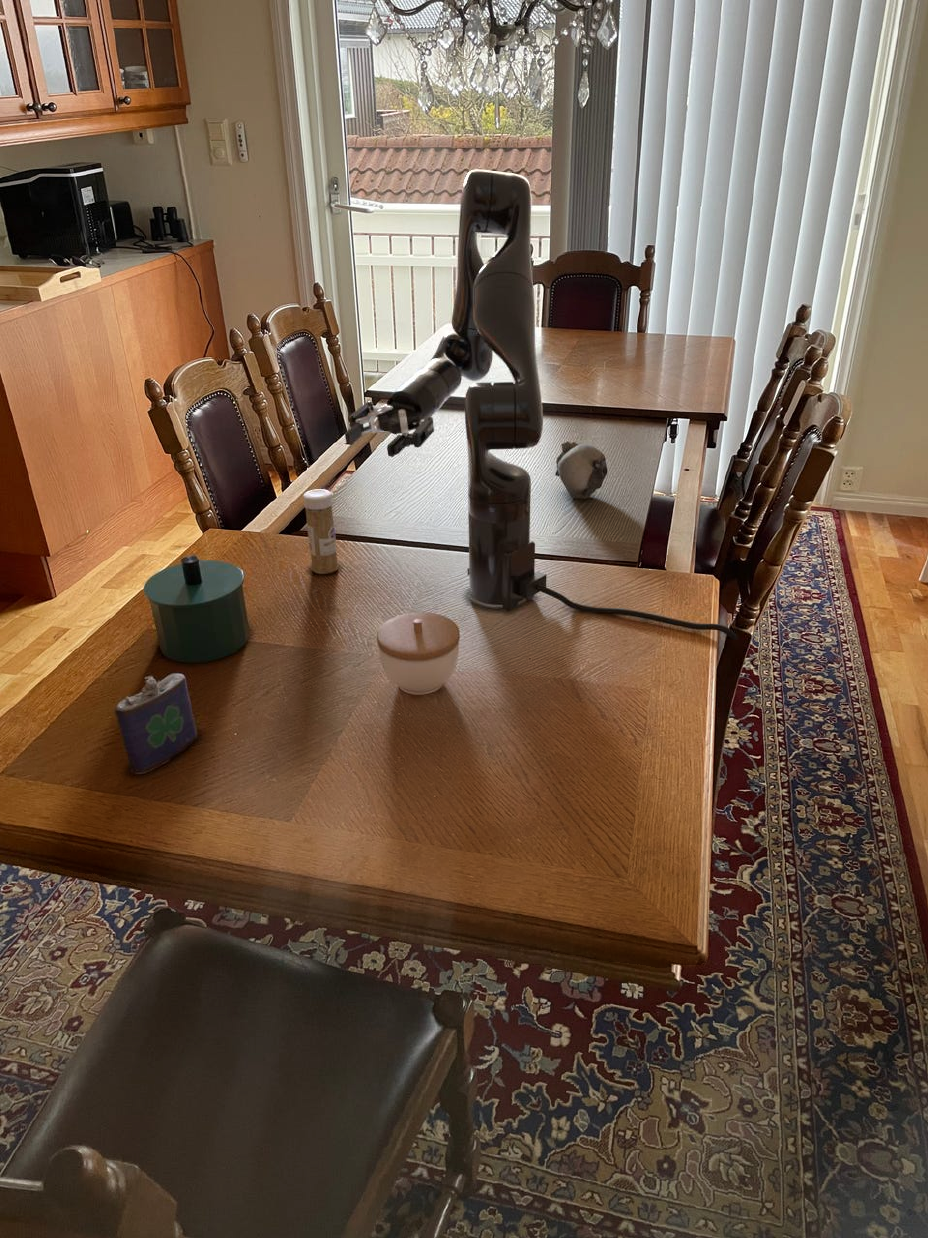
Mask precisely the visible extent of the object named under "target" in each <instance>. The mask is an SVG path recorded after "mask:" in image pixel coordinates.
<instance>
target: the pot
mask: <svg viewBox="0 0 928 1238" xmlns="http://www.w3.org/2000/svg"><path fill="white" fill-rule="evenodd" d="M149 605H150V609H151V614H152V618H153V622H154V627H155V631H156V636H157V640H158V643H159V644H158V645H159V649H160V651H161V653H162V654H163V655H164V656H165V657H166V658H168V659H170V660H171V661H174V662H179V663H189V664H197V663H198V664H199V663H200V664H201V663H208V662H212V661H217V660H220V659H222V658H226V657H228V656H230V655H233V654H234V653H236V652H238V651H239V650H240V649H242V648H243V647H244V645H246V643H247V642H248V640H249V639H250V638H249V637H250V632H251V631H250V624H249V618H248V614H247V606H246V600H245V594H244V588H243V585H242V586H241V588H240V589H239V590H238V591H236V592H235V593H234V594H232V595H231V596H229V597H227V598H225V599H223V600H221V601H218V602H215V603H212V604H209V605H204V606H199V607H193V608H168V607H162V606H159V605H156V604H153V603H152V602H150V601H149Z"/></svg>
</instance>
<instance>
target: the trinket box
mask: <svg viewBox="0 0 928 1238" xmlns="http://www.w3.org/2000/svg"><path fill="white" fill-rule="evenodd" d="M460 633H461V632H460V628H459V626H458V624H457V623H456V622H455V621H453V620H452V619H450V617H447V616H444V615H442V614H439V613H433V612H423V611H419V612H408V613H403V614H400V615H396V616H394V617H392V618H389V619H388V620H386V621H385V622H384V623H382V624H381V626H380V627H379V628H378V630H377V632H376V643H377V647H378V655H379V660H380V664H381V666H382V669H383V671H384V673H385V675H386V677H388V679H389V680H390V682H392V683H393V684H394V685H396V686H397V687H398V688H399V689H400V690H401V691H402V692H404V693H407V694H409V695H415V696H423V695H430V694H432V693H435V692H437V691H439V690H440V689H441V688H442V686H443V685H445V683H447V682H448V680H450V679H451V677H452V675H453V674H454V672H455V670H456V667H457V663H458V661H459V654H460V640H461V639H460V638H461V635H460Z"/></svg>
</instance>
